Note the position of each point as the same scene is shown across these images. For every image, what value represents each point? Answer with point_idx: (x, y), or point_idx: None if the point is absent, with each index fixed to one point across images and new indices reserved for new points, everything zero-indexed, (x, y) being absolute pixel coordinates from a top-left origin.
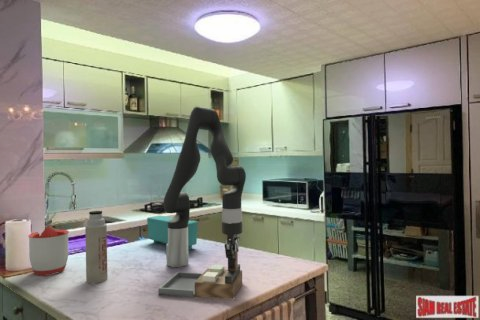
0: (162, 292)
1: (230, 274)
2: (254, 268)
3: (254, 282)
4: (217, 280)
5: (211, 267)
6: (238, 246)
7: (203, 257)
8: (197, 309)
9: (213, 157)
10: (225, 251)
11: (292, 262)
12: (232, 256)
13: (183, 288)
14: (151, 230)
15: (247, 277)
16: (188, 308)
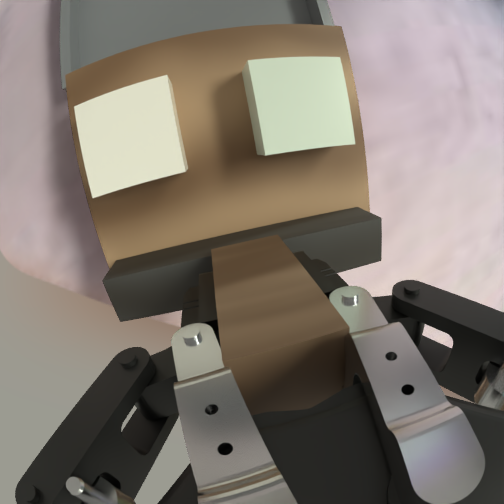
0: None
1: (152, 299)
2: (474, 211)
3: (356, 272)
4: (139, 188)
5: (283, 62)
6: (440, 363)
7: (489, 11)
8: (8, 190)
9: None
10: (61, 426)
11: (497, 298)
12: (140, 420)
13: (141, 2)
14: None
15: (402, 220)
16: (2, 154)
